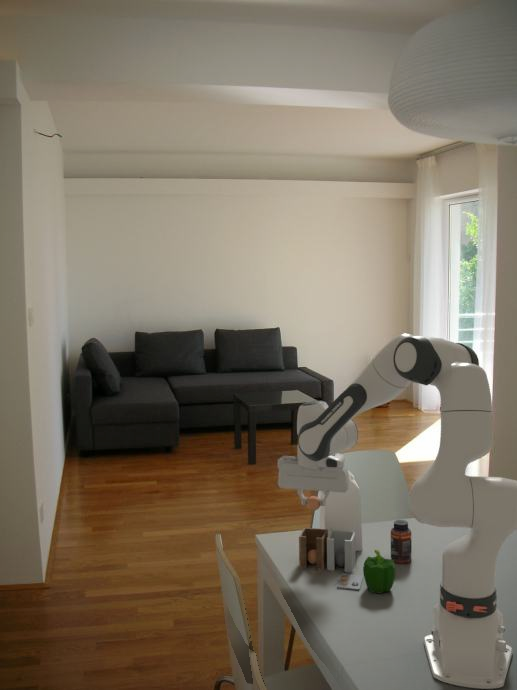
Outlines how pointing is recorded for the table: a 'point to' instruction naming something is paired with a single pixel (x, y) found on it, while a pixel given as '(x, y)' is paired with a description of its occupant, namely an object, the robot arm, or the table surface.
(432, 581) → the table surface
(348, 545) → the grey tube
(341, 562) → the tube ball charcoal
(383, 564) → the bell pepper
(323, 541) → the walnut tube
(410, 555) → the supplement bottle
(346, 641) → the table surface
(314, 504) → the loose ball
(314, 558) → the tube ball terracotta
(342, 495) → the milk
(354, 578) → the card
